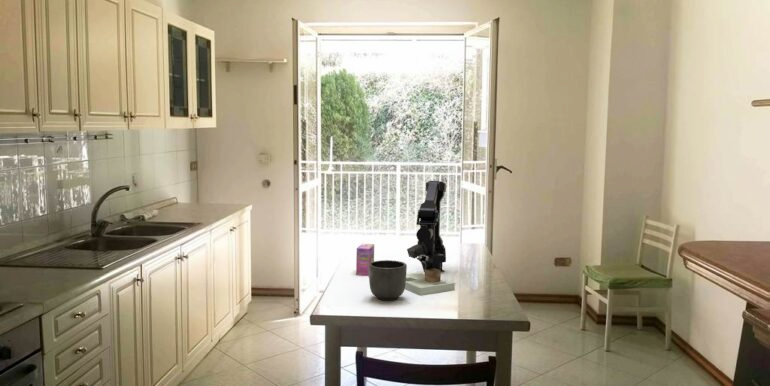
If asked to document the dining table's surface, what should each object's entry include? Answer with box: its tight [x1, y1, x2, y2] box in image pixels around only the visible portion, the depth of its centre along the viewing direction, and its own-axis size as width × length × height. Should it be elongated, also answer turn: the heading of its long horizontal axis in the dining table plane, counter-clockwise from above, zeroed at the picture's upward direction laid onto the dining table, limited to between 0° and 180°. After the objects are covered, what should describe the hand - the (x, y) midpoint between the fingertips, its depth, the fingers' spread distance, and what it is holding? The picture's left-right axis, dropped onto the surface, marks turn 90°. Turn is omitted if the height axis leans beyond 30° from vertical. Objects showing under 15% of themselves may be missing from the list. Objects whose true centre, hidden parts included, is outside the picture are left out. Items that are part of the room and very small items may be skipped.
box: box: [355, 243, 375, 277], centre depth 266 cm, size 10×6×12 cm, turn 168°
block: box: [424, 268, 442, 283], centre depth 245 cm, size 4×4×4 cm
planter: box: [368, 259, 408, 302], centre depth 226 cm, size 14×14×13 cm
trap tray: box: [405, 271, 456, 296], centre depth 246 cm, size 16×25×3 cm, turn 30°
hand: (426, 276), depth 248 cm, fingers closed
